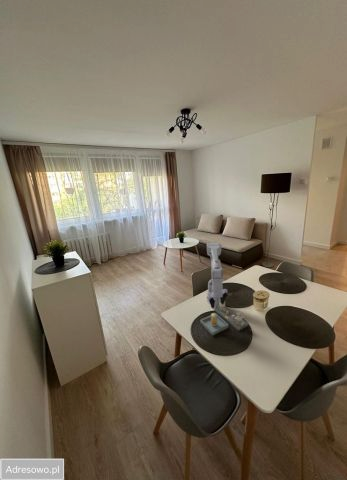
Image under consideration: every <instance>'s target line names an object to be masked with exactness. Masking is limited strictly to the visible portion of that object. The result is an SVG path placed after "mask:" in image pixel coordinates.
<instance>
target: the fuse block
mask: <svg viewBox="0 0 347 480" xmlns="http://www.w3.org/2000/svg"><path fill="white" fill-rule="evenodd" d="M213 311H214V312H215V313H216V314H217V315H218V316H220V317H221V318H222V319H223V320H224V321H225V322H226V323H228V324H230V326H232V327H233V328H234V329H235V330H237V332H239V331H241V330H243V329H245V328H247V327H249V323H248V322H247V321H245V320H244V318H242V323H241V325H238V324H237V323H236V313H235V312H234V311H232V310H231V309H230V308H229V307H228V306H227V305H225V309H223V311H221V310H220V305H218V306H217V307H214V309H213Z"/></svg>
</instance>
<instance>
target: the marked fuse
mask: <svg viewBox="0 0 347 480" xmlns="http://www.w3.org/2000/svg"><path fill="white" fill-rule="evenodd" d="M210 315H211V325H212V326H214V327H215V326H217V315H218V313H217V312H212V313H211V314H210Z"/></svg>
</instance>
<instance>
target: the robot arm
mask: <svg viewBox="0 0 347 480" xmlns="http://www.w3.org/2000/svg"><path fill="white" fill-rule="evenodd" d="M206 253H207V256H209V257H210V263H211V264H210V265H211V271H210V272H211V279H210V280H209V281H208V283H207V289H208V290H207V294H206V299H207V300H206V302H207V303H209V305H210V307H211V308H212V309H213V310H214V308H216V307H218V305H220V302H221V304H224V301H225V302H226V298H227V297H228V289H226V288H224V286H223V278H224V270H223V267H222V263H221V260H220V259H219V256H220V255H221V254H222V243H221V242H219V243H215V242H214V243H206Z"/></svg>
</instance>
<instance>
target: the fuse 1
mask: <svg viewBox="0 0 347 480" xmlns="http://www.w3.org/2000/svg"><path fill="white" fill-rule="evenodd" d="M225 306H226V300H225V301H224V304H221V302H220V310H221V311H223V309H225Z"/></svg>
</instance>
